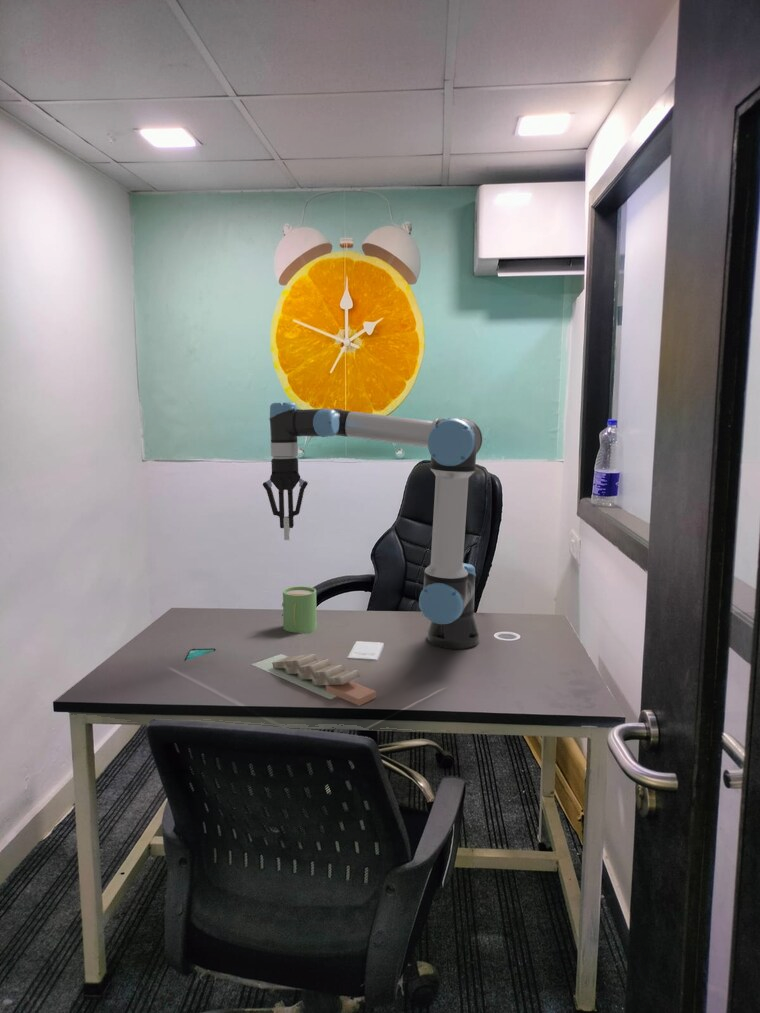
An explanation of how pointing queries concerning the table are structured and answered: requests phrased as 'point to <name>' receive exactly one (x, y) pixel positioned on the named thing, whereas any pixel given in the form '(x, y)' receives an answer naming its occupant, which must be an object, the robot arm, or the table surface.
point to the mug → (299, 609)
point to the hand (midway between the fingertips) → (287, 539)
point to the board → (292, 676)
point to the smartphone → (198, 653)
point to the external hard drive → (366, 650)
